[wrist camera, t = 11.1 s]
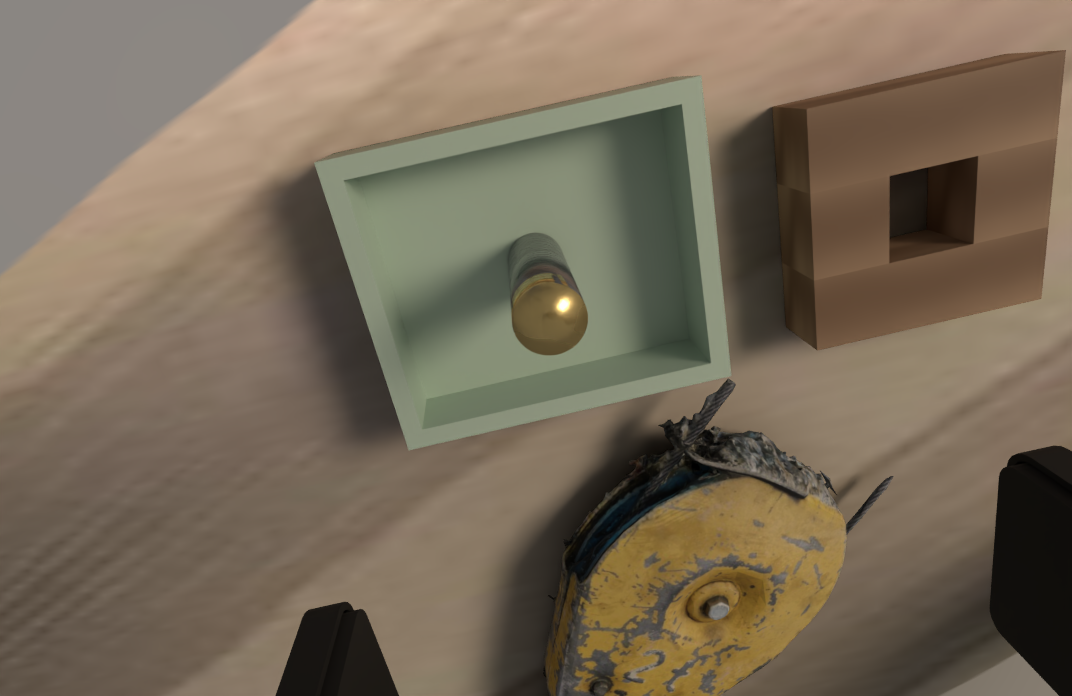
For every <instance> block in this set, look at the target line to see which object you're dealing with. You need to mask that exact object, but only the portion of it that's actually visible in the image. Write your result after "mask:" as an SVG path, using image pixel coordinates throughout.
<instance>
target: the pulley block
mask: <svg viewBox="0 0 1072 696" xmlns="http://www.w3.org/2000/svg"><path fill="white" fill-rule="evenodd" d="M735 386H736V385H735V383H734V382H733V381H731V380H730V379H727V381H726V382H725V383H724V384H723V385H722V386H721V387H720V389H719V390H718V391H717V392H715V393H713V394H711V395H709V396H707V398H706V400H705V403H704V405H703V408H702V410H701V411H700V413H695V414H694V415H693V419H692V420H688V419H687V418H686V417H685V416H684V417H683V418H682V419H681V421H680V422H678V423H676V424H673V422H672V421H671V419H670V420H668V421H667V422H666V423H664V424H662V425H658V426H661V427H663V428H664V431H665V436H666V437H667V438H668V439H669V441H670V442H671V443H672V444H673V445H674V448H675V450H672V451H670V450H668V449H667V451H666V452H665V453H663V454H661V455H651V457H650V458H648V457H647V454H645V455H643V456H640V457H639V458H638V459H637V460H632V461H630V462H629V464H630V465H636V468H635V469H634V471H633V472H632V473H629V474H627V477H626V478H625V479H623V480H622V481H621V482H620V483H619V485H617V486H616V487H615V488H614V489H613V490H612V491H611V492H610V493H608V492H606V495H605V497H604V499H603V501H602V502H601V503H600V504H599V505H598V506H597V507H596V508H595V509H594V511H593V512H591V511H589V513H588V515H587V517H586V519H585V520H584V522H583V523H582V524H581V525H580V526H579V528H578V529H577V530H576V531H575V533H574V535H573V536H572V538H571V539H570V541H567V540H565V539H564V544H565V546H566V545H568V546H567V548H566V549H565V551H564V553H563V556H562V560H561V578H560V584H559V589H558V594H557V597H555V598H553V597H551V596H550V595H548V596H549V597H550V598H552V599H553V600H554V603H555V610H554V615H553V620H552V624H551V628H550V633H549V637H548V642H547V646H546V650H545V655H544V661H545V666H544V671H545V672H543V674H544V676H545V677H546V680H547V689H548V694H549V696H719V695H721V694H722V693H724V692H725V691H727V690H728V689H730V688H732V687H733V686H735V685H736V684H738V683H739V682H741V681H742V680H744V679H745V678H747V677H748V676H750V675H752V674H753V673H755V672H756V671H758V670H759V669H761V668H762V667H764V666H765V665H766V664H768V663H769V662H770V661H771V660H773V659H775V658H776V657H777V656H778V655H779V654H780V653H781V652H782V650H783V649H784V648H785V647H786V646H787V645H788V644H789V643H790V642H791V641H792V640H793V639H794V638H795V637H796V636H797V635H798V634H799V633H800V632H801V631H802V630H803V629H804V628H805V627H806V626H807V625H808V624H809V623H810V622H811V621H812V620H813V618H814V617H815V615H816V614H817V613H818V611H819V610H820V609H821V607H822V606H823V605H824V603H825V602H826V601H827V599H828V597H829V595H830V593H831V591H832V589H833V587H834V585H835V583H836V581H837V580H838V578H839V575H840V572H841V568H842V565H843V561H844V556H845V550H846V543H847V534H848V533H849V531H850V530H851V529H852V528H853V527H854V526H855V525H856V524H857V523H858V522H859V520H860V519H861V518H862V517H863V516H864V515H865V513H866V512H867V511H868V510H869V508H870V507H871V506H872V505H873V504H874V502H875V501H876V500H877V499H878V497H879V496H880V495H881V494H882V493H883V492H884V491H885V490H886V489H887V487H888V485H889V484H890V482H891V480H892V478H893V477H894V476H891V477H889V478H887V479H885V480H884V481H883V482H882V483H881V484H880V485H879V486H878V487H877V488H876V489H875V490H874V492H873V493H872V494H871V495H870V497H869V498H868V499H867V500H866V502H865V503H864V504H863V505H862V507H861V508H860V509H859V510H858V512H857V513H856V514H855V515H854V516H853V517H852V519H851V520H850V521H849V522H848V523H847V524H845V521H844V518H843V515H842V514H841V512H840V510H839V508H838V506H837V505H836V503H835V501H834V499H833V498H832V496H831V494H830V493H829V491H828V488H829V487H830V488H831V489H832V490H833V492H834V493H835V491H834V489H833V488H832V484H831V480H830V478H828V477H827V476H826V475H825V474H824V473H822V472H821V471H820V472H821V474H822V475H823V477H824V479H825V481H826V483H825V484H824V481H823V478H822V476H821V474H815V472H814V471H813V470H812V469H811V468H810V466H808V467H807V466H805V465H804V464H803V463H802V462H798V461H797V460H796V457H795V456H792V457H787V456H786V452H781V451H780V450H779V449H778V448H777V447H776V446H775V444H774V442H772V441H771V440H770V439H769V438H767V437H766V436H765V435H764V434H763V433H759V432H752V431H747V432H744V433H732V434H731V433H726V432H719V431H720V428H718V427H715V426H713V427H712V428H711V430H710V429H709V430H704V429H705V427H706V425H707V424H708V423H709V421H710V420H711V419H712V417H713V416H714V415H715V413H716V412H717V411H718V409H719V408H720V406H721V405H722V404H723V403H724V401H725V400H726V399H727V397H728V396H729V395H730V394H731V392H732V391H733V389H734V387H735ZM835 494H836V493H835ZM836 495H837V494H836Z"/></svg>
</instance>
